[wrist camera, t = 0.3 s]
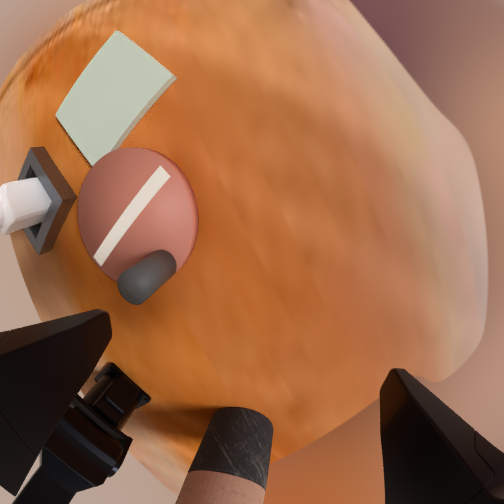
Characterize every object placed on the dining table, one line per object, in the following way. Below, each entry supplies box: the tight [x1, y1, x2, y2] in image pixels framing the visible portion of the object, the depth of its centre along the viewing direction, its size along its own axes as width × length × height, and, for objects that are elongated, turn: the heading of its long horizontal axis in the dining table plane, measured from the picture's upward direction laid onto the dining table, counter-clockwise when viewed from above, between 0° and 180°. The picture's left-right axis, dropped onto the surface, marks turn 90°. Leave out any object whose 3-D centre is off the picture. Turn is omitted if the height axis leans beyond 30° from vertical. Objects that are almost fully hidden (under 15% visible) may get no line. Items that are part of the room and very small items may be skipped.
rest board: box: [56, 30, 177, 166], centre depth 17 cm, size 10×9×1 cm
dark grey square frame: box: [17, 147, 77, 255], centre depth 21 cm, size 8×8×2 cm
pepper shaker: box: [0, 177, 52, 235], centre depth 17 cm, size 4×4×10 cm
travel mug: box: [176, 407, 273, 504], centre depth 17 cm, size 8×8×20 cm
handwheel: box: [78, 147, 199, 305], centre depth 16 cm, size 10×10×5 cm
